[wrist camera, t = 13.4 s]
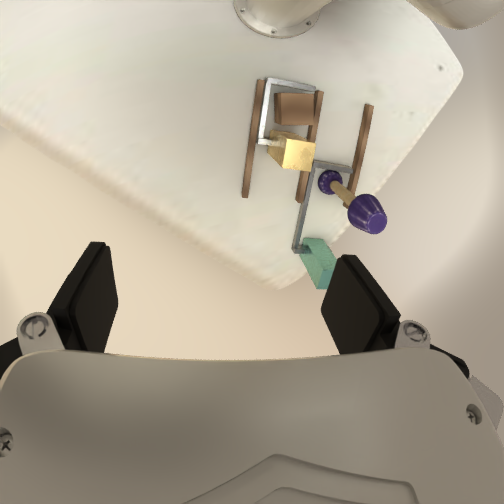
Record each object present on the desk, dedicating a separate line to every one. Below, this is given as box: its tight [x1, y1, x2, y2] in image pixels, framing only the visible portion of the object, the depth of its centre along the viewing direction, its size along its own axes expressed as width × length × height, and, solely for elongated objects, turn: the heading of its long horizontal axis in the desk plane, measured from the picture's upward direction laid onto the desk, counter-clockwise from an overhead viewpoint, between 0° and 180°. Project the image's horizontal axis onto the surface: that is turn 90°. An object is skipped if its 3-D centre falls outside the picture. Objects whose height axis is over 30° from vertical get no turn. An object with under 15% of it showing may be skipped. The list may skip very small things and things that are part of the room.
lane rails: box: [242, 79, 374, 209], centre depth 41 cm, size 18×18×2 cm
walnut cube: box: [274, 93, 314, 125], centre depth 36 cm, size 4×4×4 cm
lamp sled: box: [292, 160, 353, 289], centre depth 43 cm, size 17×7×10 cm, turn 172°
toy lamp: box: [318, 170, 387, 234], centre depth 38 cm, size 5×5×17 cm
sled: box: [256, 77, 316, 172], centre depth 35 cm, size 11×7×10 cm, turn 172°
